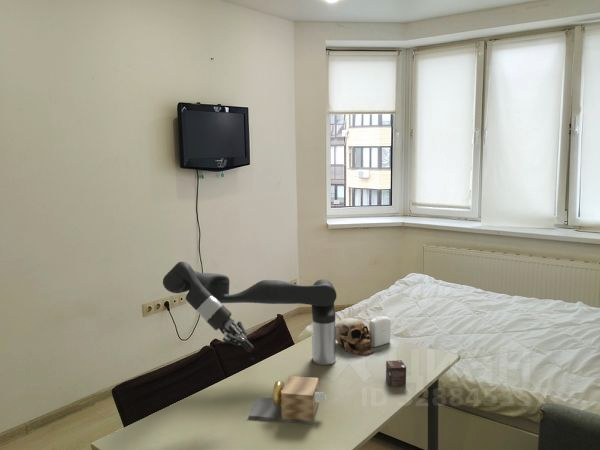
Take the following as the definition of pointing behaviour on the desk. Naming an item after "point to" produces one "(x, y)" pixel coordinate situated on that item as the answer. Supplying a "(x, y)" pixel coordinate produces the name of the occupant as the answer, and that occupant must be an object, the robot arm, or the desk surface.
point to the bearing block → (290, 402)
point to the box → (396, 373)
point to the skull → (354, 336)
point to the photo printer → (379, 331)
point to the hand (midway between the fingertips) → (251, 349)
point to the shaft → (278, 390)
